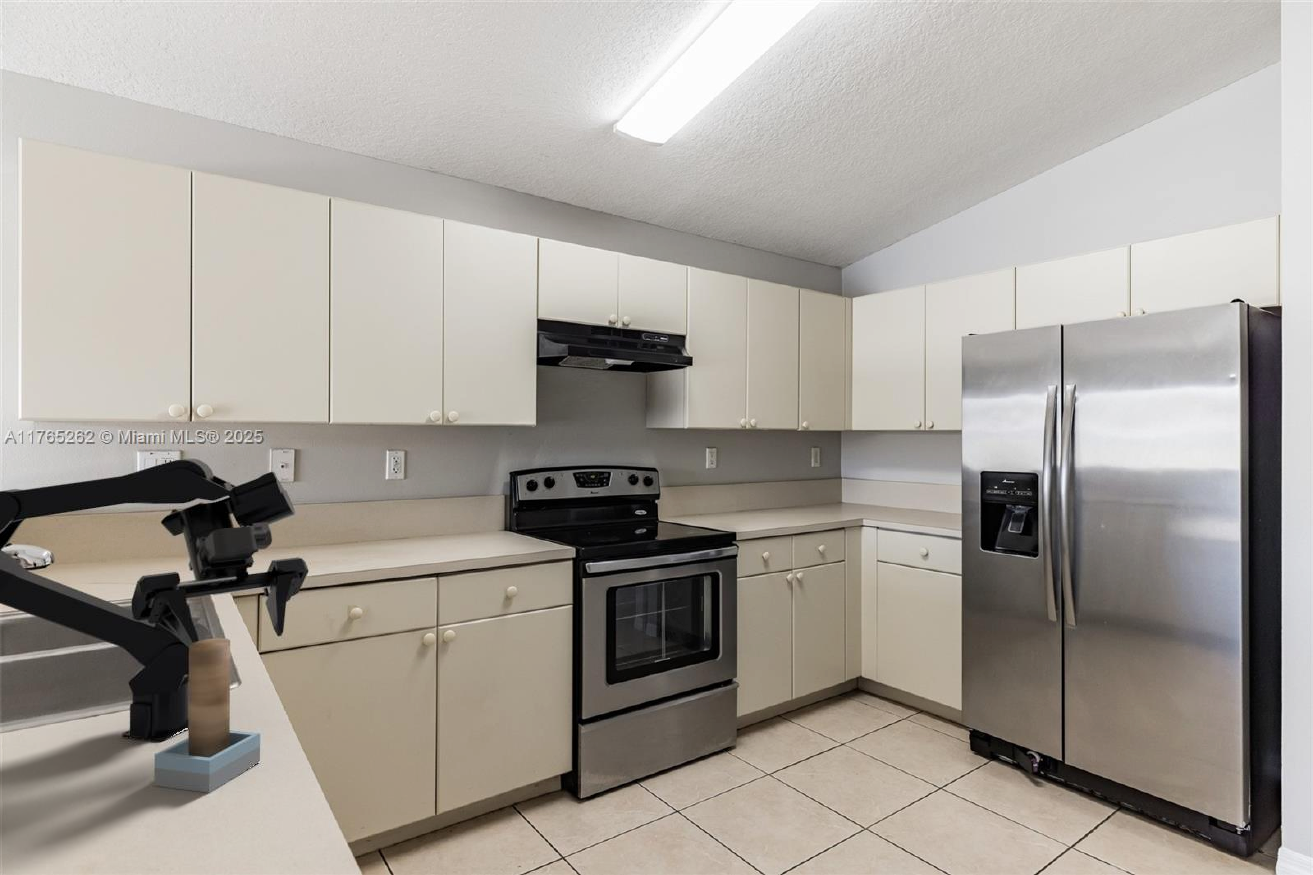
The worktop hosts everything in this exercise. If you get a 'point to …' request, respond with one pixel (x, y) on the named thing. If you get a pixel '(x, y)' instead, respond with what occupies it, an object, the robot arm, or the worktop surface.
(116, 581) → the worktop surface
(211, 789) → the light blue open box
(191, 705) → the pillar
